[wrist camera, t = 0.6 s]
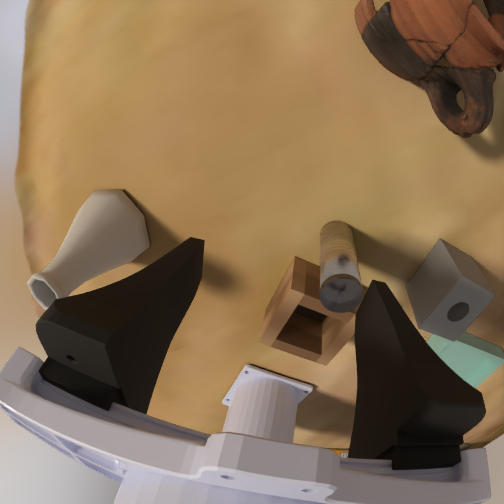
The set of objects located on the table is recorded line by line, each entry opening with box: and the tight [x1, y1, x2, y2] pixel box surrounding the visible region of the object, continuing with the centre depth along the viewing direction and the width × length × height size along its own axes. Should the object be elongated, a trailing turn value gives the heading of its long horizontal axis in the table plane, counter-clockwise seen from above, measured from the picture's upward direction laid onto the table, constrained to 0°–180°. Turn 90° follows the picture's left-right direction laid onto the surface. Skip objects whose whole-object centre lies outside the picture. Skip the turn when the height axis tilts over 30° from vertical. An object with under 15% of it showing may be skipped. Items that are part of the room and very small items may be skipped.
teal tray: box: [426, 332, 504, 388], centre depth 27 cm, size 10×10×2 cm
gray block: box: [406, 239, 496, 342], centre depth 21 cm, size 5×4×5 cm
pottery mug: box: [355, 0, 504, 138], centre depth 12 cm, size 12×10×8 cm
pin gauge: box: [320, 221, 363, 313], centre depth 20 cm, size 2×2×7 cm
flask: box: [28, 189, 150, 310], centre depth 22 cm, size 7×7×10 cm
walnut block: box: [259, 257, 364, 365], centre depth 24 cm, size 6×6×4 cm
